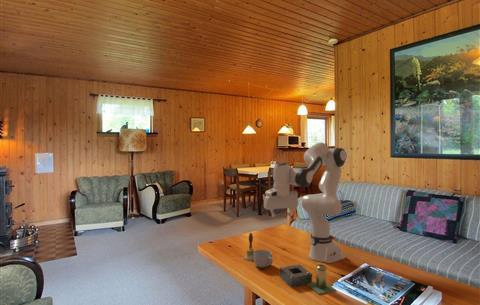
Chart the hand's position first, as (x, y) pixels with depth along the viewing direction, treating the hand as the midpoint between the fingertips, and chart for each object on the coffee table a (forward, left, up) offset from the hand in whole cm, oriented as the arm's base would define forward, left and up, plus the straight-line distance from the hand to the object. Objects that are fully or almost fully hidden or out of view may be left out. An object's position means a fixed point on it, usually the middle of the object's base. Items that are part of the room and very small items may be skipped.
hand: (281, 216), depth 153 cm
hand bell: (+10, -22, -31) cm, 40 cm away
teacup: (+7, -8, -31) cm, 33 cm away
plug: (-10, +23, -30) cm, 39 cm away
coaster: (-10, +23, -31) cm, 40 cm away
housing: (-2, +12, -31) cm, 33 cm away
